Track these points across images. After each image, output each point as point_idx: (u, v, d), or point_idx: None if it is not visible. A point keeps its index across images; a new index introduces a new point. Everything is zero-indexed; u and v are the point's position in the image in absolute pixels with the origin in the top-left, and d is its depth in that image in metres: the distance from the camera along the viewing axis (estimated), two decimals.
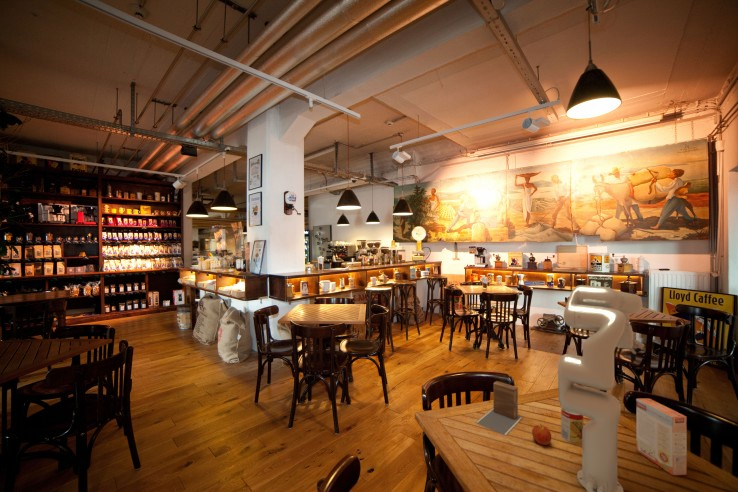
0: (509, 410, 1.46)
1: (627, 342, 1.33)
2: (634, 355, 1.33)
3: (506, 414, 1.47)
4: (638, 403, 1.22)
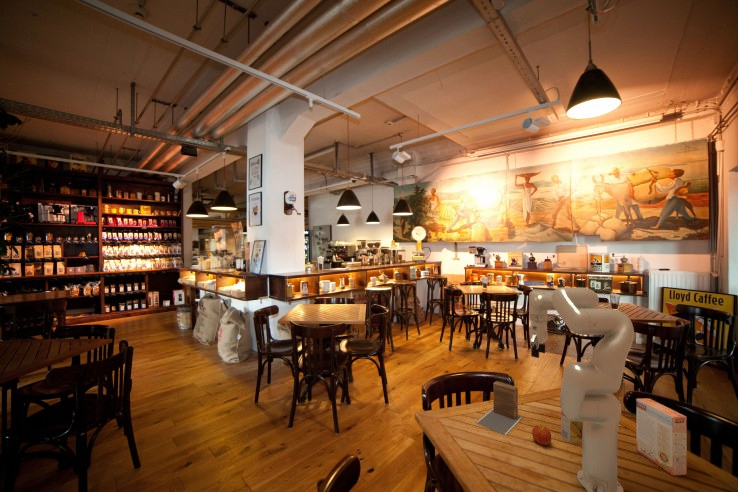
0: (509, 410, 1.46)
1: (547, 335, 1.47)
2: None
3: (506, 414, 1.47)
4: (638, 403, 1.22)
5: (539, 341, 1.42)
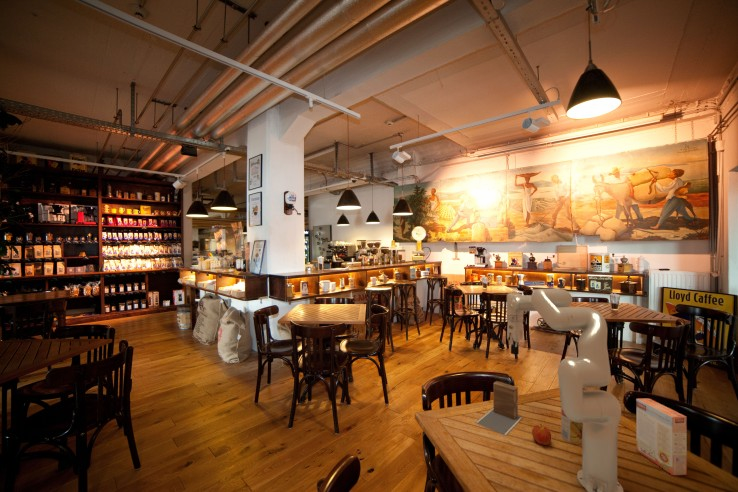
0: (509, 410, 1.46)
1: (522, 334, 1.58)
2: None
3: (506, 414, 1.47)
4: (638, 403, 1.22)
5: (515, 339, 1.53)
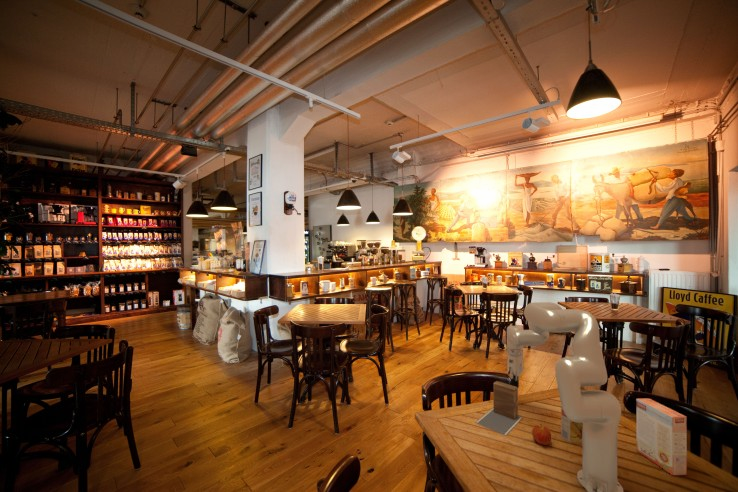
0: (509, 410, 1.46)
1: (522, 367, 1.58)
2: None
3: (506, 414, 1.47)
4: (638, 403, 1.22)
5: (515, 374, 1.53)
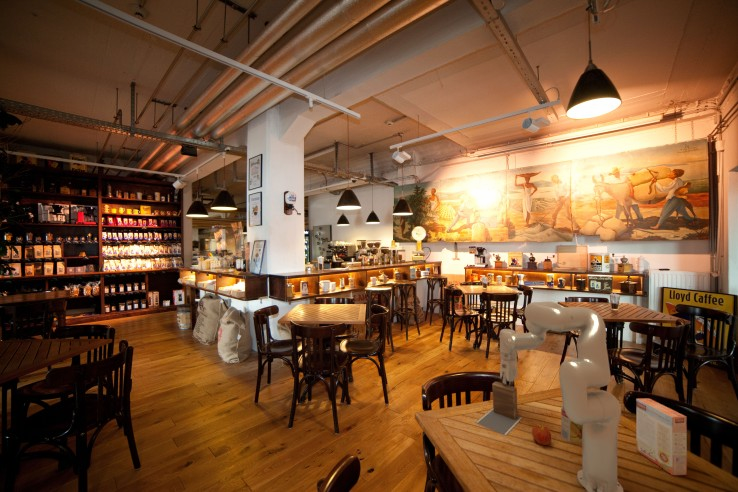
0: (509, 410, 1.46)
1: (516, 372, 1.52)
2: None
3: (506, 414, 1.47)
4: (638, 403, 1.22)
5: (508, 379, 1.47)
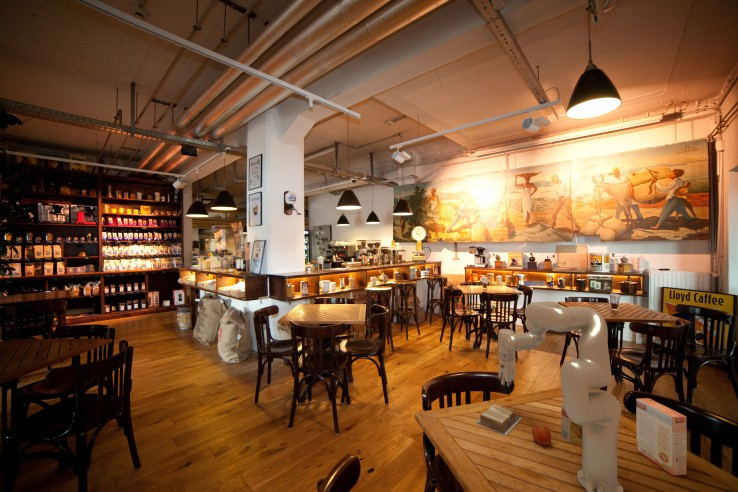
0: None
1: (515, 372, 1.51)
2: None
3: None
4: (638, 403, 1.22)
5: (506, 380, 1.46)
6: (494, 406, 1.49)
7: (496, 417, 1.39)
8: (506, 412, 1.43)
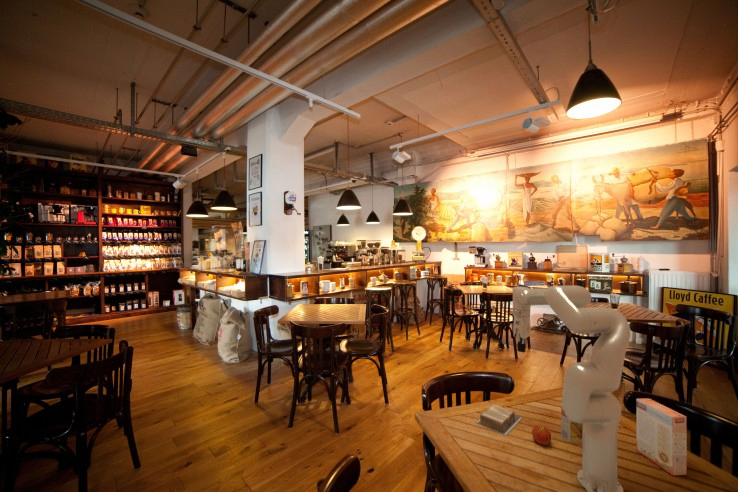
0: None
1: (530, 330, 1.48)
2: None
3: None
4: (638, 403, 1.22)
5: (522, 336, 1.43)
6: (494, 406, 1.49)
7: (496, 417, 1.39)
8: (506, 412, 1.43)
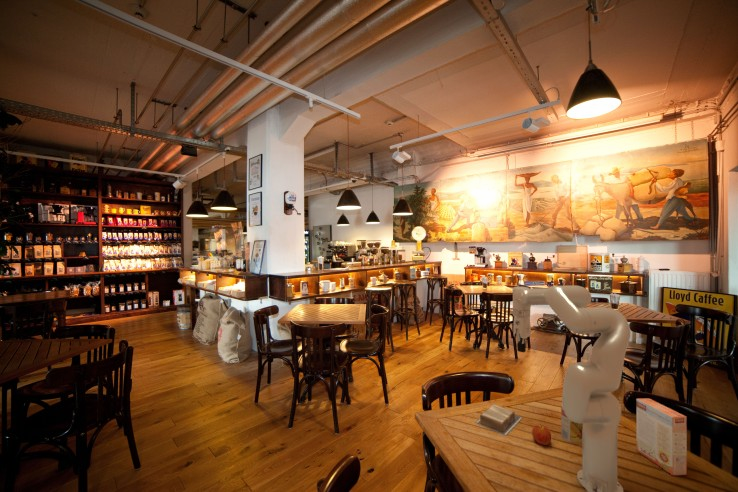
0: None
1: (530, 330, 1.48)
2: None
3: None
4: (638, 403, 1.22)
5: (522, 336, 1.43)
6: (494, 406, 1.49)
7: (496, 417, 1.39)
8: (506, 412, 1.43)
